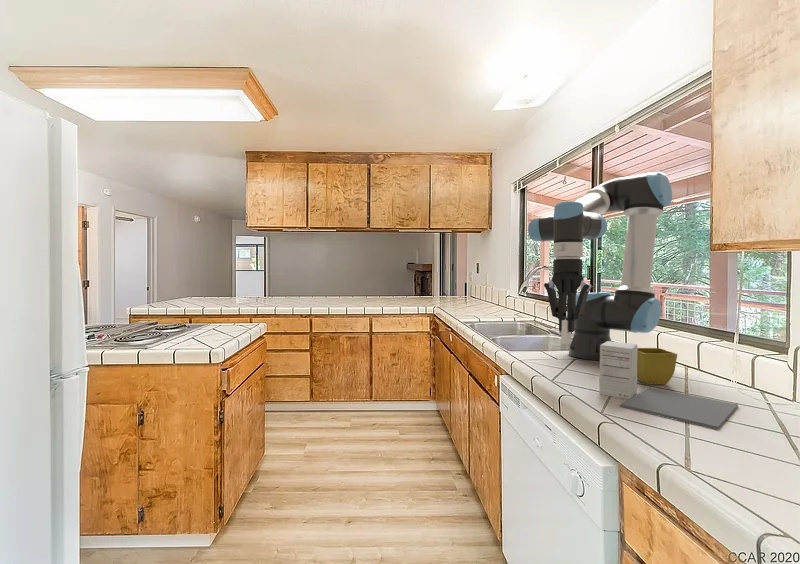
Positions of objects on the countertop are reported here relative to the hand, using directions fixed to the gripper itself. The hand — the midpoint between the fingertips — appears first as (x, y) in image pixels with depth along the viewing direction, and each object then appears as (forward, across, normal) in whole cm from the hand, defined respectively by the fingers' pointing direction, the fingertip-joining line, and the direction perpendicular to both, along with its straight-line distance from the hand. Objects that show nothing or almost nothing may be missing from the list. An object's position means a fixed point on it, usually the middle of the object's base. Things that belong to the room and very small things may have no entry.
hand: (566, 343), depth 114 cm
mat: (+11, +27, 0) cm, 29 cm away
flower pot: (+11, +16, +18) cm, 27 cm away
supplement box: (+11, +14, 0) cm, 18 cm away
